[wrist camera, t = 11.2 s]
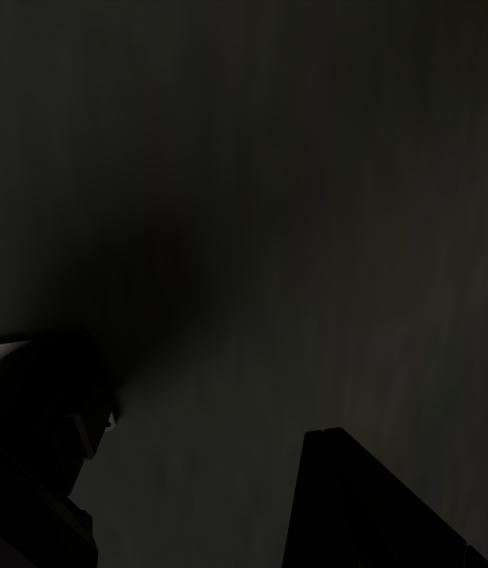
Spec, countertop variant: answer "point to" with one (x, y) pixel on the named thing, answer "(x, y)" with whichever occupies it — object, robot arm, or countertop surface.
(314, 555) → the robot arm
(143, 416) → the countertop surface
